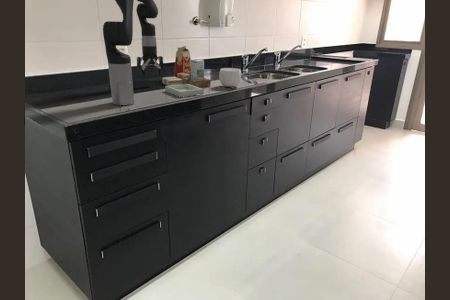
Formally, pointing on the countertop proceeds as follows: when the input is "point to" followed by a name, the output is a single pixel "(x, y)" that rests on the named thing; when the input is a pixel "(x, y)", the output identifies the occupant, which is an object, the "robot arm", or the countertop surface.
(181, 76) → the stop block
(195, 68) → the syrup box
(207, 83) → the socket
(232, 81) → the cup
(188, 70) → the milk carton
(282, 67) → the countertop surface
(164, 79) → the beige rectangular block
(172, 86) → the tray
